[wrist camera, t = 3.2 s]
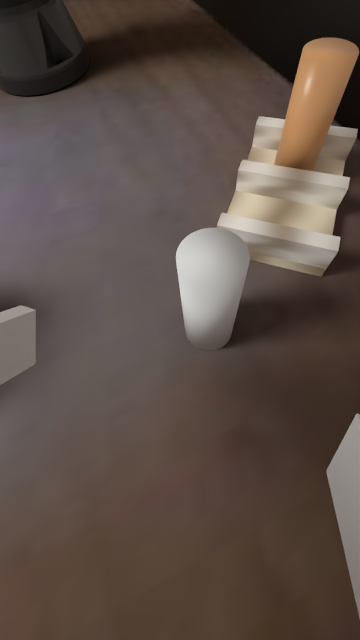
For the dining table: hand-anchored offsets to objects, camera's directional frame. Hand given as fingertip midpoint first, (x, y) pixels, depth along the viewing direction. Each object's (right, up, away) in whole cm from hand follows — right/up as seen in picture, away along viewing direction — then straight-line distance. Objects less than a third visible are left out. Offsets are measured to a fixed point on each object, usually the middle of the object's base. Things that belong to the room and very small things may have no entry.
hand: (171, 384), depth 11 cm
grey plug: (+3, +2, +13) cm, 14 cm away
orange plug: (+12, +18, +19) cm, 29 cm away
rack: (+11, +15, +19) cm, 26 cm away
